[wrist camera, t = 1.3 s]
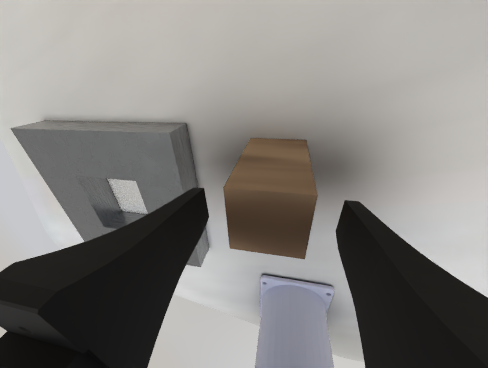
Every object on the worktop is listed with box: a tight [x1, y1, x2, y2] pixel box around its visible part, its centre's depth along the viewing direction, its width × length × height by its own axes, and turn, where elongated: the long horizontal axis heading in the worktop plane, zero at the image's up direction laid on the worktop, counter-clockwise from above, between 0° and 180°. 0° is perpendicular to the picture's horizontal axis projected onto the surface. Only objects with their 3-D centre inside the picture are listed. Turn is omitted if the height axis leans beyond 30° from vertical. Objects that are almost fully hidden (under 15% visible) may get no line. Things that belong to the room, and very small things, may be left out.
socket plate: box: [10, 121, 209, 267], centre depth 19 cm, size 14×14×2 cm
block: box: [223, 138, 317, 259], centre depth 12 cm, size 4×4×7 cm
